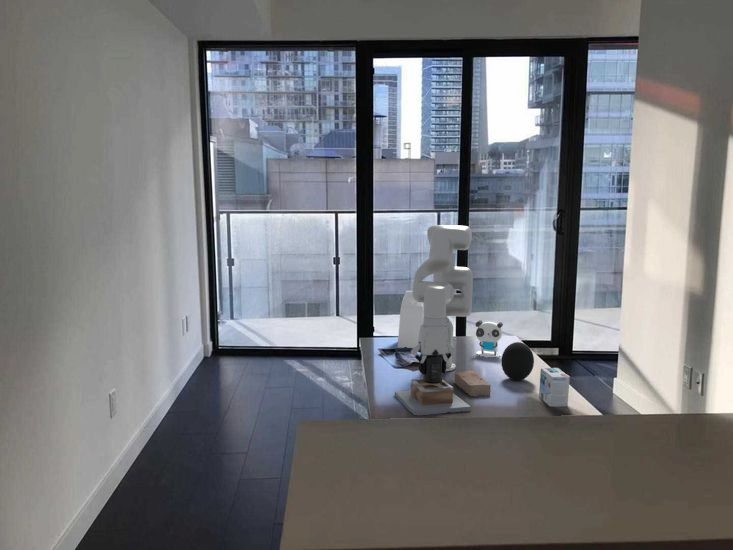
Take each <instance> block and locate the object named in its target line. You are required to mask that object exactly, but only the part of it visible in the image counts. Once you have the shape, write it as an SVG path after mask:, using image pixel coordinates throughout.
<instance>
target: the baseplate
mask: <svg viewBox="0 0 733 550" xmlns="http://www.w3.org/2000/svg"><path fill="white" fill-rule="evenodd" d="M394 397H395V398H396V399H397V400H398V401H399V402H400V403H401V404H402V405H404V407H405V408H406V409H407V410H408V411H409V412H410V413H411V412H412V413H413V414H414V415H417V416H425V415H426V416H427V415H436V414H437V415H438V414H447V412H451V413H460V412H461V411H462V412H470V411H471V410H472V409H471V407H472V406H471V405H469V403H467V402H465V401H464V400H463V399H462V398H461V397H459V396H458V395H456V394H455V392H453V403H446V404H434V405H421V404H420V403H419V402H418V401H417V400H416V399H415V398H414V397H413V396H412V395H411V389H409V390H400V391H399V390H398V391H397V390H396V391H394ZM412 413H411V414H412ZM413 414H412V415H413ZM414 415H413V416H414Z"/></svg>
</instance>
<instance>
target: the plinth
mask: <svg viewBox="0 0 733 550" xmlns="http://www.w3.org/2000/svg"><path fill="white" fill-rule="evenodd" d="M410 381H411V382H410V383H411V384H410V390H411V395H412V396H413V397H414V398H415V399H416V400H417V401H418V402H419V403H420V404H421V405H434V404H446V403H453V393H454V386H452V385H451V384H450V383H448V382H447V381H446V380H444V379H443V378H442V382H441V383H438V384H429V383H425V382H424V381H423V378H415V379H410Z"/></svg>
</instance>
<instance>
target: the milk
mask: <svg viewBox="0 0 733 550" xmlns="http://www.w3.org/2000/svg"><path fill="white" fill-rule="evenodd" d="M400 305H401V306H400V309H399V311H400V312H399V321H398V323H399V324H398V326H399V327H398V337H397V348H404V347H407V348H406V349H414V348H415V347H416V346H417V344H418V336H419V330H420V326H421V325H423V314H424V303H422V302H417V301H415V300H414V298H413V295H412V290H406V291H405V292H404V295H403V298H402V301H401V304H400ZM404 349H405V348H404Z"/></svg>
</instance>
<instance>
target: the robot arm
mask: <svg viewBox="0 0 733 550" xmlns="http://www.w3.org/2000/svg"><path fill="white" fill-rule="evenodd" d="M426 234H427V235H426V237H427V239H428V243H429V245H430V247H429V254H428V259H426V260H424V262H422V263H421V265H420V266H419V267H418V268H417V270H416V271H415V273H414V277H413V284H412V290H411V291H412V295H413V298H414V300H415V301H417V302H422V303H423V325H421V326H420V330H419V336H418V344H417V346H416V347H415V348H412V349H411V350H410V353H411V355H413V357H414V358H415V359H416V360H417V361H418V371H419V373H420V374H421V375H422V376H423V375H424V374H425V363H424V361H425V359H426V357H427V356H429V355H433V354H432V353H433V351H434V350H436V351H437V352H438V353H439V354H438V355H441V356H442V357H443V372H442V374H445V373H446V372H452V371H454V370H455V369H456V364H455V363H453V354H454V353H455V352H456V348H454V346H453V345H454V343H453V341H454V325H453V323H452V321H451V320H450V319H449V317H463V318H465V317H469V316H470V315H471V314H472V310H473V286H474V277H473V276H474V275H473V271H472V269H470V268H469V267H466V266H456V265H455V264H456V263H455V262H456V254H455V252H454V251H455V250H457V251H468V250H469V249H470V247H471V244H472V239H473V232H472V229H471V227H470V226H467V225H451V224H436V225H431V226H429V227H428V229H427V232H426ZM431 275H433V279H432V280H433V281H429V280H428V281H427V280H426V281H425V278H427V277H428V276H431ZM455 291H459V293H457V292H455ZM418 353H419V354H418Z"/></svg>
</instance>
